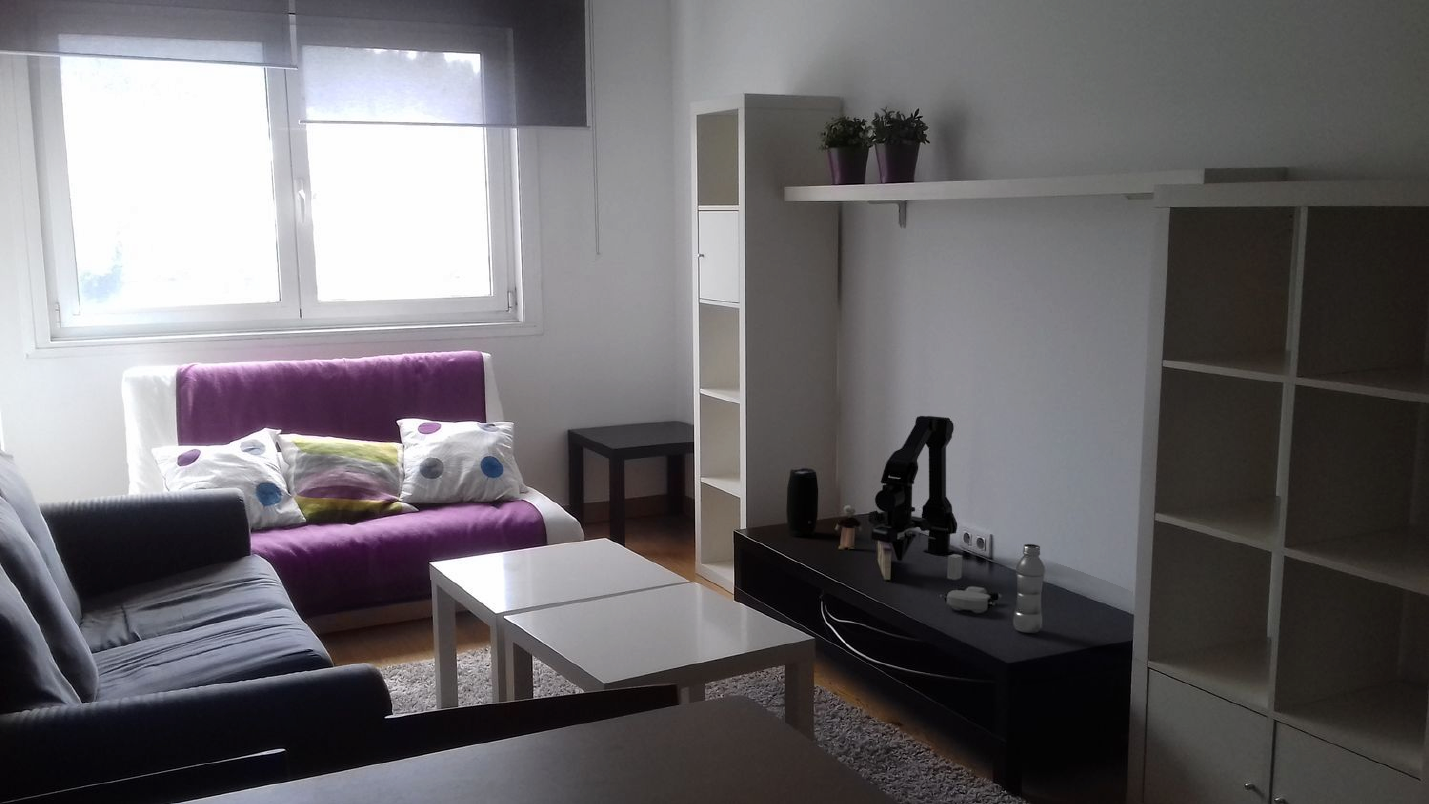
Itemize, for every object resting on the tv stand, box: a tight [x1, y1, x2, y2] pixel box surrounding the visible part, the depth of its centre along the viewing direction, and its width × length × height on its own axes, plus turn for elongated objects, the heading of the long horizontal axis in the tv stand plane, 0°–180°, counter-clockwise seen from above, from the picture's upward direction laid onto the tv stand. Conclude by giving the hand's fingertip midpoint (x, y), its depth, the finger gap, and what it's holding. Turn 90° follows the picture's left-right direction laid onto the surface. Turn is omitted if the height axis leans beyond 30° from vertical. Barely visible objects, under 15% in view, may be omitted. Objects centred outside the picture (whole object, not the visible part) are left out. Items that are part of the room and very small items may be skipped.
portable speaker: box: [785, 467, 819, 538], centre depth 361 cm, size 9×9×20 cm
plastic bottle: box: [1012, 543, 1046, 634], centre depth 273 cm, size 6×7×20 cm
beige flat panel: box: [875, 540, 893, 581], centre depth 324 cm, size 22×2×8 cm, turn 177°
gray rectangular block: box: [946, 553, 963, 581], centre depth 317 cm, size 3×2×6 cm
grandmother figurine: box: [834, 505, 863, 550], centre depth 346 cm, size 8×4×13 cm, turn 92°
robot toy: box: [939, 586, 1003, 614], centre depth 292 cm, size 12×4×15 cm
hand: (899, 560), depth 320 cm, fingers closed
